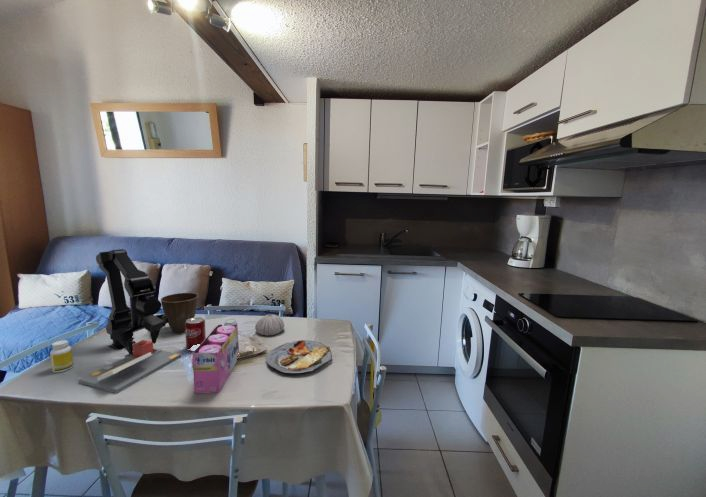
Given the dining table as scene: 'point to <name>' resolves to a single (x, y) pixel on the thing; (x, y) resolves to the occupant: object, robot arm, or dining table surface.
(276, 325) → the sea urchin shell
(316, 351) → the food plate
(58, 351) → the supplement bottle
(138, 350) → the red block
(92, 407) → the dining table surface
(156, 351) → the socket
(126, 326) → the robot arm
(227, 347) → the gum box
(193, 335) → the soda can
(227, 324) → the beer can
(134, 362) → the yellow-striped white slab
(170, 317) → the plant pot
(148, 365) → the panel
